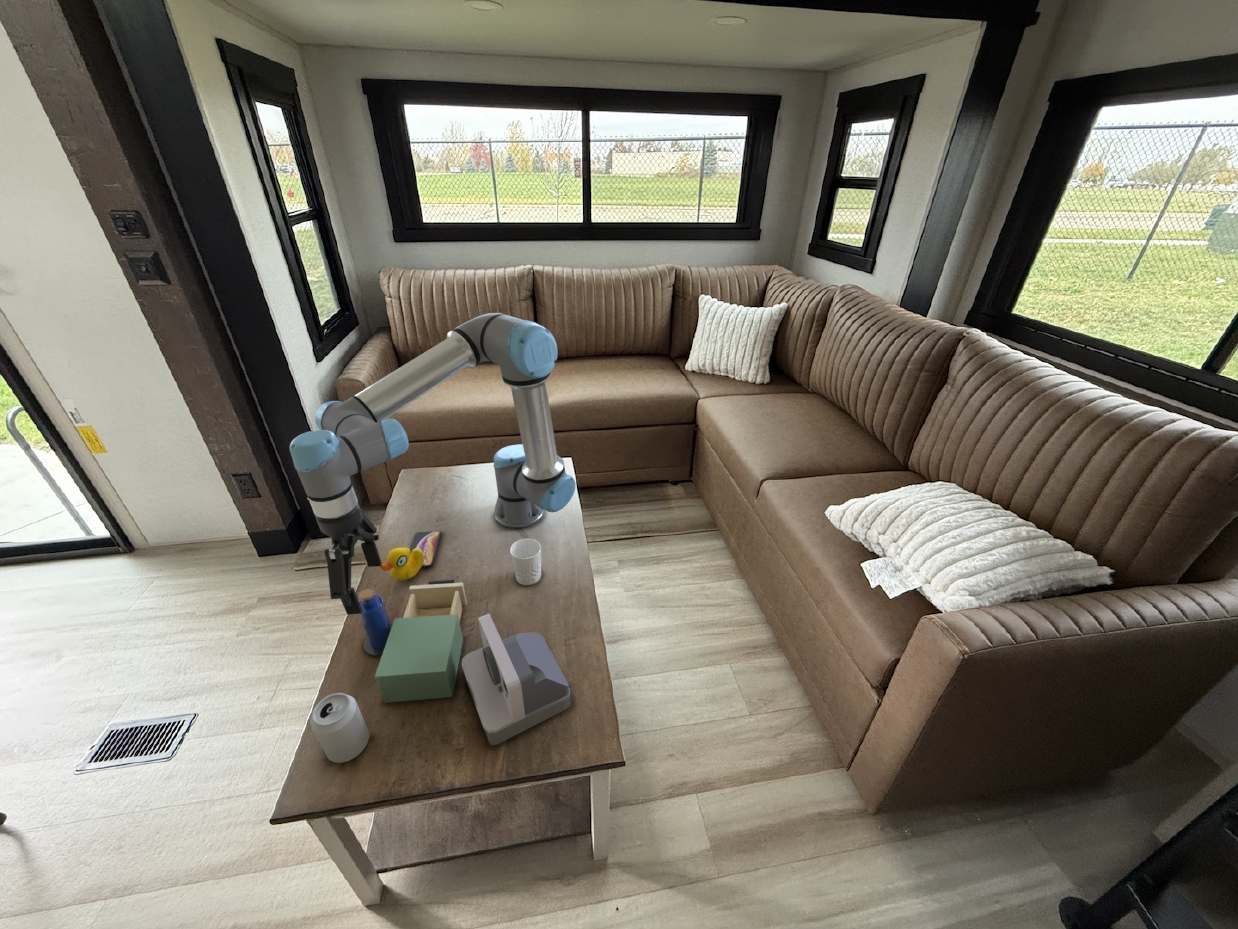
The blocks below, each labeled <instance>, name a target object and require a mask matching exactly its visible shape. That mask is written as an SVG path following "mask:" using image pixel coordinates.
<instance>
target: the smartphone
mask: <svg viewBox="0 0 1238 929" xmlns="http://www.w3.org/2000/svg"><path fill="white" fill-rule="evenodd" d="M441 536H442V532H441V531H439V530H432V531H431V530H430V531H418V532H416V533H415V534H414V537H413V539H412V542H411V544H410V548H409V549H410V554H411V553H412V550H413V549H415V548H417V549H420V550H421V551H422V552H423V554H424V563H423V565H422V567H421V568H420V569H422V568H423V569H424V568H432V566H433V565H434V563H435V558H436V555H437V551H438V547H439V543H440V540H441Z"/></svg>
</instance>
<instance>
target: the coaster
mask: <svg viewBox="0 0 1238 929" xmlns="http://www.w3.org/2000/svg"><path fill="white" fill-rule="evenodd" d="M391 627H392V625H391ZM363 650H364V652H365V654H367V655H369V656H372V657H380V656H381V657H382V654H383V651H384V649H379V650H377V649H373V648H372V647H371V645H370V643H369V640H368V637H367V636H366V638H365V640H364V643H363Z"/></svg>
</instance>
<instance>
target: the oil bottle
mask: <svg viewBox="0 0 1238 929" xmlns="http://www.w3.org/2000/svg"><path fill="white" fill-rule="evenodd" d="M358 598H359V599H360V601H359V603H360V606H361V608H362V613H361V614H358V616H359V618H360V622H361V624H362V627H363V630H364V633H365V635H366V638H367V637H368V640H369V643H370V645H371V647H372V648H373V649H377V650H379V649H384V648H385V645H386V643H387V640H388V637H389V634H390V631H391V628H392V627H391V626H392V623H391V620H390V617H389V614H388V611H387V609H386V606H385V603H384V600H383V598H382V596H380V595H377V594H375V592H374V590H373V589H372V588H366V589H363V590H361V591H360V592H359V594H358Z"/></svg>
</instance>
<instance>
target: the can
mask: <svg viewBox="0 0 1238 929" xmlns="http://www.w3.org/2000/svg"><path fill="white" fill-rule="evenodd" d="M309 721H310V722H309V724H310V728H311V730H312V733H314V735H315V737H316V739H317V741H318V743H319V744H320V746H321V748H322V750H323V752H324V754H325V756H326V757H327V759H328V760H329V761H331V762H332V763H335V764H336V763H338V764H342V763H345V762H346V763H347V762H349V761H351V760H353V759H354V758H355V759H356V757H358V756H359V755H360V754H361V753H362V752H363V751H364V749H365V748H366V746H367V745H368V743H369V739H370V731H369V728H368V725H367V724H366V721H365V719H364V716H363V714H362V712H361V710H360V707H359V704H358V702H357V700H356V699H355V698H354V697H353V696H351V695H349V694H346V693H345V692H336V693H332V694H329V695H326V696H325V697H324V698H322V699H320V700H319V701H318V703H316V705H315V706H314V708H313V710H312V713H311V717H310V720H309Z"/></svg>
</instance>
